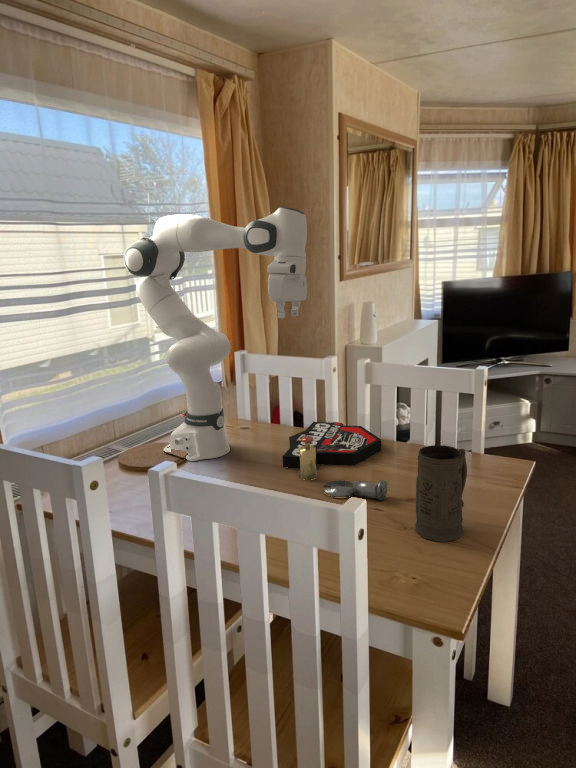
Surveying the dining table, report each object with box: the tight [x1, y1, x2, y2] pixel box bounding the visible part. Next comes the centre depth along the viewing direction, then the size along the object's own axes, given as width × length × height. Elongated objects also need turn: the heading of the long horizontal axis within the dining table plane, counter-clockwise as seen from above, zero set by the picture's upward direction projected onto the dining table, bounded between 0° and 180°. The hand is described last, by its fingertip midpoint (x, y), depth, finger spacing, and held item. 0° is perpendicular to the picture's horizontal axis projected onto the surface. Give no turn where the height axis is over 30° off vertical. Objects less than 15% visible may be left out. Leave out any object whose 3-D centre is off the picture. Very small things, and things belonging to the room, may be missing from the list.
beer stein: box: [414, 444, 468, 543], centre depth 133 cm, size 15×11×20 cm
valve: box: [299, 436, 317, 480], centre depth 165 cm, size 5×5×12 cm
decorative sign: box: [282, 421, 382, 470], centre depth 186 cm, size 34×4×30 cm
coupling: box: [322, 479, 388, 501], centre depth 154 cm, size 17×9×5 cm, turn 61°
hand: (288, 317), depth 163 cm, fingers open, 8 cm apart
